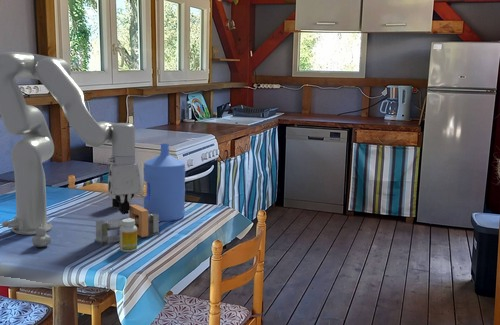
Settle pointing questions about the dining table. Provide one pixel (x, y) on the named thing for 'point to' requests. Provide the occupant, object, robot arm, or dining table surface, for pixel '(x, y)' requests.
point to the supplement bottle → (128, 235)
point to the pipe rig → (105, 226)
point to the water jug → (165, 186)
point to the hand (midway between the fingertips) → (124, 213)
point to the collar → (140, 219)
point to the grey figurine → (41, 237)
